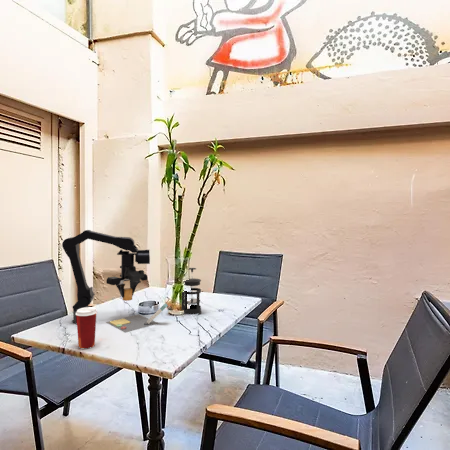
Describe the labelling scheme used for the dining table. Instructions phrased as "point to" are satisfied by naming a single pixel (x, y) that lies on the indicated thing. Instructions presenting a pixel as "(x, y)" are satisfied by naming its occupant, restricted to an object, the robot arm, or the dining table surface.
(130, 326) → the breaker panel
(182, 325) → the dining table surface
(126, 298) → the cap
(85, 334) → the paper cup
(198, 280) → the french press
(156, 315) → the lever
